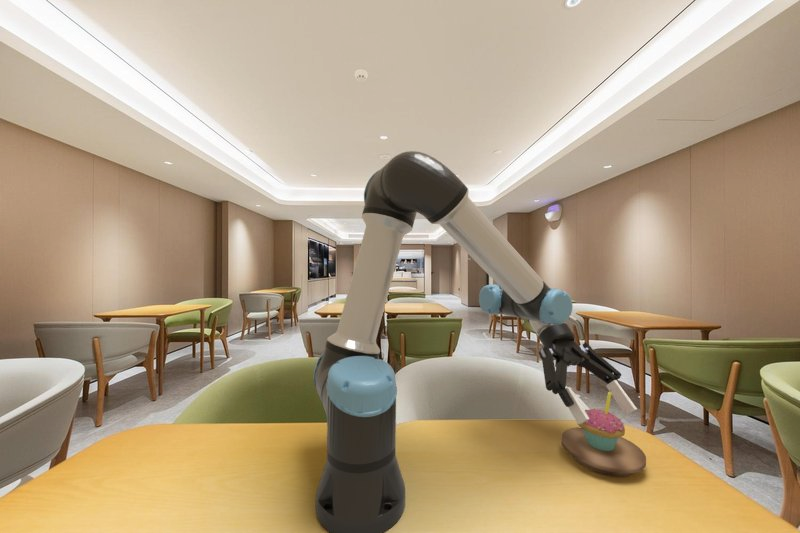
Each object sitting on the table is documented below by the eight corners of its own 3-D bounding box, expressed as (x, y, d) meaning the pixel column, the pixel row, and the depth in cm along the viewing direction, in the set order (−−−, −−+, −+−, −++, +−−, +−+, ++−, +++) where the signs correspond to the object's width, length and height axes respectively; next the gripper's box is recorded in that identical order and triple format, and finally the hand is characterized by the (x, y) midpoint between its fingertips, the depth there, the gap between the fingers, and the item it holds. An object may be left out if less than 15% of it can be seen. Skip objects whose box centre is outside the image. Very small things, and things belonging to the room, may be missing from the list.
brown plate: (586, 483, 59) (586, 467, 59) (548, 440, 74) (548, 427, 74) (666, 484, 59) (666, 468, 59) (612, 440, 74) (612, 427, 74)
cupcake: (610, 436, 71) (611, 382, 71) (634, 458, 62) (635, 397, 62) (570, 433, 72) (570, 380, 72) (588, 455, 63) (588, 395, 63)
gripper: (579, 335, 86) (636, 414, 72) (503, 341, 78) (551, 433, 64) (598, 318, 81) (662, 400, 67) (518, 323, 73) (573, 418, 59)
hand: (608, 416), depth 65 cm, fingers open, 13 cm apart
